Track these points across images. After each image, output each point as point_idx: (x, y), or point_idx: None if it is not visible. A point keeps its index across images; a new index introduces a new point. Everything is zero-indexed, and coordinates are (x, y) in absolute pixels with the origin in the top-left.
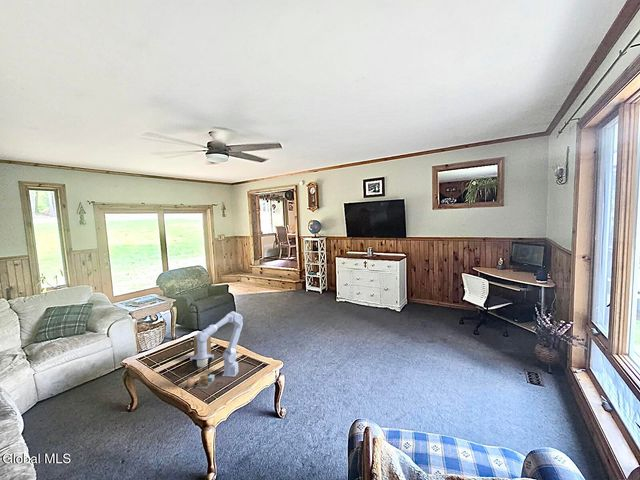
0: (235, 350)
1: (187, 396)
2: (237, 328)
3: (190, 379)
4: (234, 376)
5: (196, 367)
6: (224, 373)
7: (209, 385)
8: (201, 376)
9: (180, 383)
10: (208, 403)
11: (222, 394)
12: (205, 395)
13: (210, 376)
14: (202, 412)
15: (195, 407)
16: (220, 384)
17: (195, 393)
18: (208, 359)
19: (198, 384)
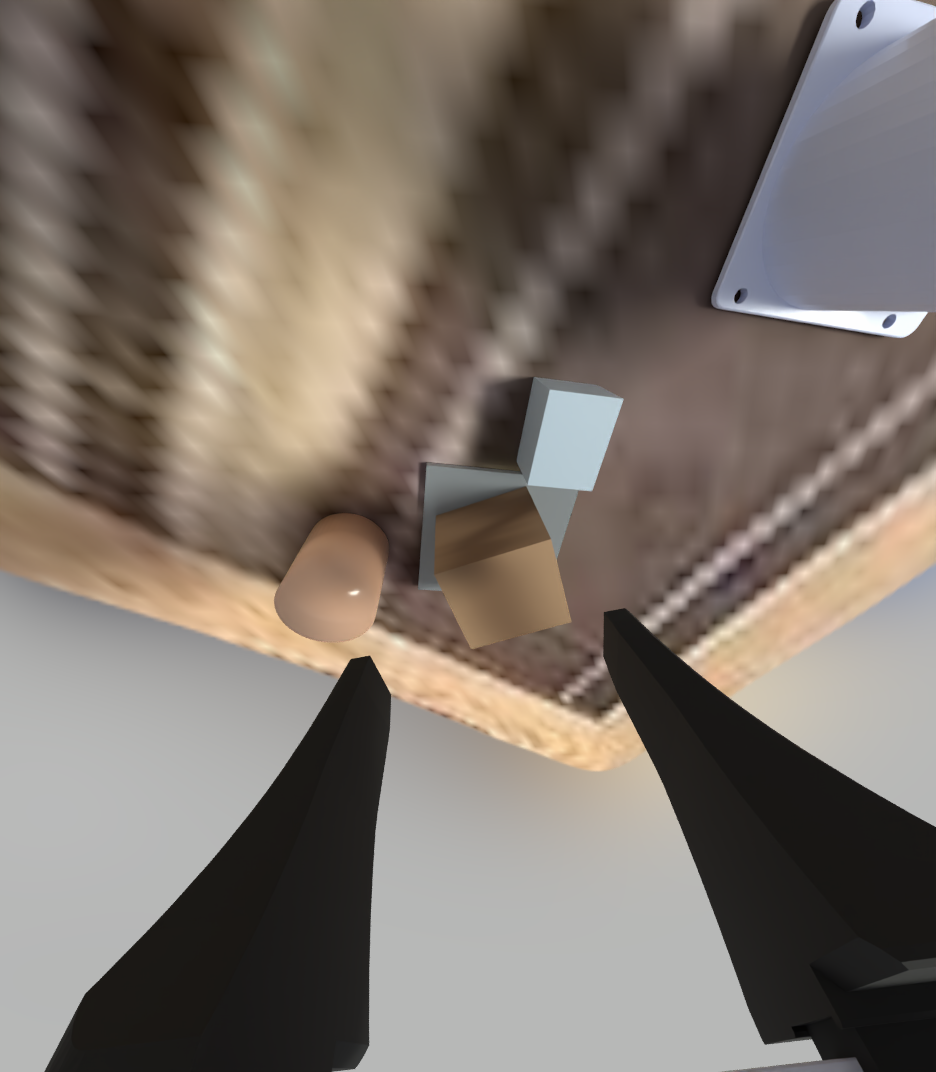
0: None
1: (414, 674)
2: None
3: (333, 624)
4: (903, 333)
5: (375, 762)
6: (780, 264)
7: (560, 538)
8: (465, 580)
9: (169, 499)
10: (599, 717)
11: (694, 646)
12: (558, 660)
13: (563, 450)
14: (579, 764)
15: (525, 743)
16: (680, 517)
17: (463, 643)
18: (812, 1036)
19: (429, 535)
